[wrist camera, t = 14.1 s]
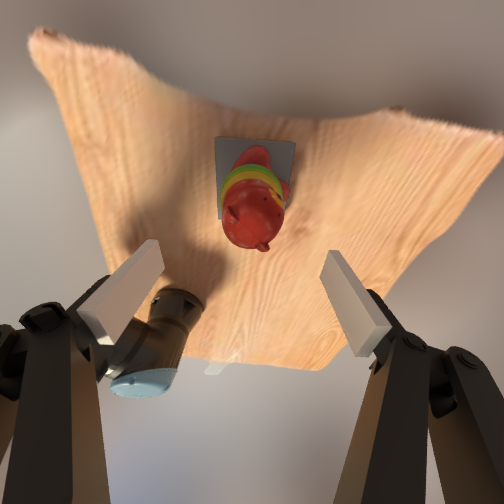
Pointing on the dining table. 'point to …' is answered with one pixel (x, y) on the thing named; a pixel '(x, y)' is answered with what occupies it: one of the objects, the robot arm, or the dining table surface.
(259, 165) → the stacking bear
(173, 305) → the robot arm
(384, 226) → the dining table surface
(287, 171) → the grey block
